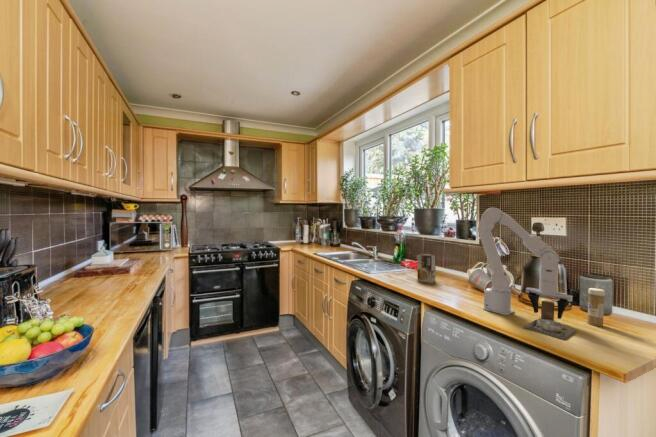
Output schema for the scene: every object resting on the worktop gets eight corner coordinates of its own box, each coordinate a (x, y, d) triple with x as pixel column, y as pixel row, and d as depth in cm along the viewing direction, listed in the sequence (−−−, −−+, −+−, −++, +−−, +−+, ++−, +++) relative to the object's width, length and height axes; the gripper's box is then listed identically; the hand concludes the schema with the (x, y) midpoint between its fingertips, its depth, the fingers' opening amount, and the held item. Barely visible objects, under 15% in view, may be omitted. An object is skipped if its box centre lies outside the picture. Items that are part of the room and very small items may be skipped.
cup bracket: (523, 327, 104) (523, 321, 104) (536, 321, 111) (536, 314, 111) (564, 340, 94) (564, 332, 94) (576, 331, 101) (576, 324, 101)
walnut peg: (539, 319, 113) (539, 301, 113) (543, 317, 115) (543, 300, 115) (551, 322, 110) (552, 304, 110) (555, 320, 112) (555, 302, 112)
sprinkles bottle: (583, 322, 110) (585, 287, 110) (594, 322, 111) (595, 287, 111) (596, 327, 106) (597, 290, 106) (607, 326, 106) (608, 290, 106)
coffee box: (435, 281, 174) (436, 255, 174) (431, 283, 169) (431, 256, 169) (421, 279, 180) (422, 253, 180) (416, 280, 176) (417, 254, 175)
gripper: (575, 283, 108) (574, 318, 109) (531, 275, 120) (530, 308, 121) (569, 285, 104) (568, 322, 105) (524, 277, 116) (523, 311, 116)
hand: (547, 315), depth 112 cm, fingers open, 7 cm apart
